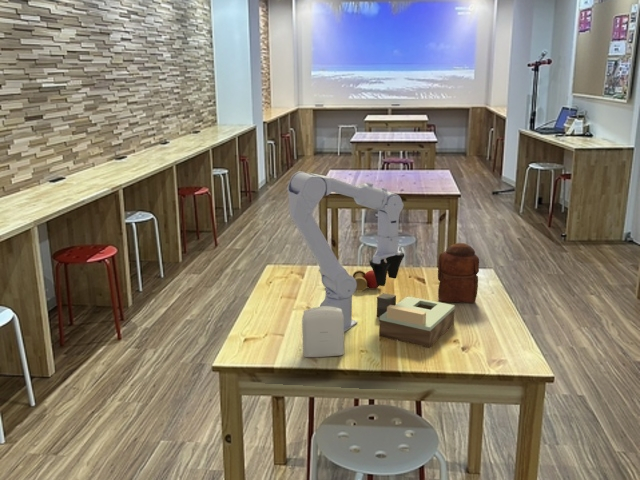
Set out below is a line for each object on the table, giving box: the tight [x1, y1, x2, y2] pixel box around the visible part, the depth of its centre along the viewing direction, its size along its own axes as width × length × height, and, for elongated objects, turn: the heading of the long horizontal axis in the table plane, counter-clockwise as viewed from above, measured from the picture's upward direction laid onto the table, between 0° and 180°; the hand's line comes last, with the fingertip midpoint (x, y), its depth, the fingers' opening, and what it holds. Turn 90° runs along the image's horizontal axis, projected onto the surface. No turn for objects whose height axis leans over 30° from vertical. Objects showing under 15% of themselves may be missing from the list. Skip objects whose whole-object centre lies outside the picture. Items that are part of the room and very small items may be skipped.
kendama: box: [352, 269, 380, 292], centre depth 199 cm, size 8×6×18 cm
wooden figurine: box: [437, 242, 480, 304], centre depth 186 cm, size 12×6×18 cm, turn 85°
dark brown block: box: [376, 292, 397, 318], centre depth 175 cm, size 4×4×6 cm
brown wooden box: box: [378, 304, 455, 349], centre depth 166 cm, size 18×14×4 cm
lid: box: [379, 295, 456, 331], centre depth 164 cm, size 18×14×4 cm
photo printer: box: [301, 306, 345, 358], centre depth 150 cm, size 10×4×12 cm, turn 96°
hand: (386, 281), depth 173 cm, fingers open, 7 cm apart
